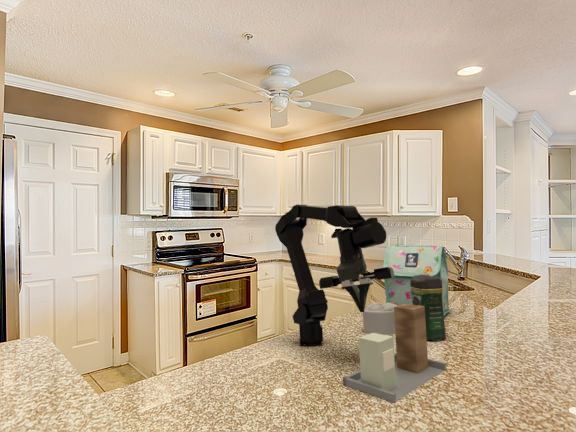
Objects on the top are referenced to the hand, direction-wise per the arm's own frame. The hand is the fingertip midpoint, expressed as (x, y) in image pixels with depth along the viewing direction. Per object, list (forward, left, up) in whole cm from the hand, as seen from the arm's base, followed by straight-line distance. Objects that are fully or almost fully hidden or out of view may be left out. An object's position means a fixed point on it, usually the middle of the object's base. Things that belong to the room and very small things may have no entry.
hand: (362, 312), depth 91 cm
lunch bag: (+30, +51, -12) cm, 60 cm away
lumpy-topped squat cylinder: (+11, +28, -12) cm, 32 cm away
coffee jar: (+23, +19, -12) cm, 32 cm away
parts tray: (+5, -12, -12) cm, 18 cm away
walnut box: (+10, -7, -12) cm, 17 cm away
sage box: (0, -17, -12) cm, 21 cm away
